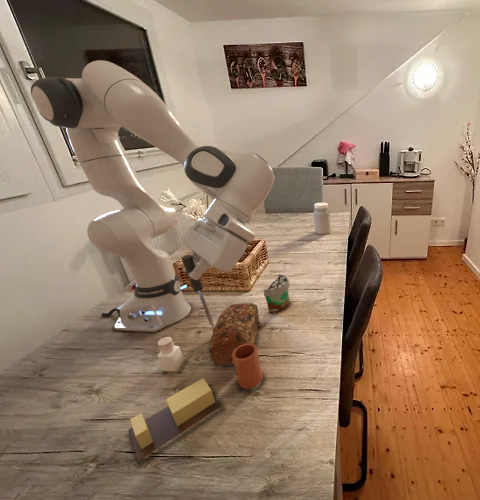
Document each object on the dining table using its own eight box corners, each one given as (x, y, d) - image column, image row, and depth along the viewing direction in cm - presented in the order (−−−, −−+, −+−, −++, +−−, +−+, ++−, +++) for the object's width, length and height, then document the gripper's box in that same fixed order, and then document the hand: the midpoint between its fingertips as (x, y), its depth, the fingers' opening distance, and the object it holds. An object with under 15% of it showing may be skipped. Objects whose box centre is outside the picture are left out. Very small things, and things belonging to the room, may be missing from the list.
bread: (252, 364, 77) (246, 335, 73) (211, 369, 76) (202, 340, 72) (261, 322, 94) (257, 296, 90) (228, 325, 93) (222, 300, 89)
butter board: (207, 387, 70) (206, 383, 70) (222, 410, 64) (221, 406, 64) (130, 433, 60) (128, 429, 59) (139, 465, 54) (137, 461, 54)
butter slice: (147, 425, 60) (141, 412, 59) (153, 441, 57) (147, 428, 55) (136, 432, 59) (129, 419, 57) (141, 449, 56) (135, 436, 54)
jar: (317, 229, 180) (315, 201, 173) (332, 229, 178) (330, 202, 171) (313, 234, 171) (310, 205, 164) (328, 235, 169) (327, 206, 162)
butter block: (207, 389, 68) (203, 377, 67) (215, 402, 65) (211, 390, 63) (170, 411, 63) (165, 399, 61) (177, 426, 60) (172, 413, 58)
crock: (236, 392, 69) (228, 361, 65) (242, 373, 74) (235, 344, 70) (260, 390, 69) (254, 359, 65) (264, 371, 74) (259, 342, 70)
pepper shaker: (172, 362, 78) (162, 335, 74) (186, 362, 78) (176, 335, 74) (162, 374, 74) (152, 346, 71) (177, 374, 74) (167, 346, 71)
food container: (284, 317, 96) (280, 292, 92) (267, 315, 97) (263, 290, 93) (297, 297, 107) (294, 274, 103) (282, 296, 108) (279, 273, 104)
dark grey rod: (214, 321, 67) (189, 253, 59) (218, 326, 66) (193, 256, 58) (206, 326, 66) (179, 257, 58) (210, 330, 65) (183, 260, 56)
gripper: (196, 205, 66) (161, 255, 64) (234, 222, 53) (192, 287, 50) (219, 219, 71) (187, 266, 68) (259, 238, 57) (221, 298, 55)
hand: (189, 275), depth 59 cm, fingers closed on dark grey rod, 2 cm apart
